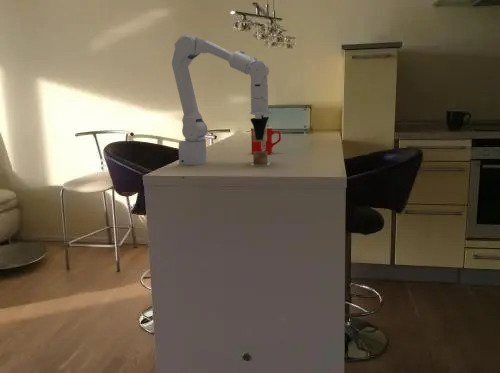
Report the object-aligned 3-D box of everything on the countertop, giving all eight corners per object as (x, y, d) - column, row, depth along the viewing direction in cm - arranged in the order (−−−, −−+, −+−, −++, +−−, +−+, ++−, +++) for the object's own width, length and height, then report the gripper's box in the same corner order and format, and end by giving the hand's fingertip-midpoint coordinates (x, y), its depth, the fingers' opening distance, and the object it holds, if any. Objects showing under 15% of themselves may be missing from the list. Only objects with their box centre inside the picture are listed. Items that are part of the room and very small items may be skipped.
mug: (250, 154, 198) (250, 128, 196) (253, 152, 206) (253, 127, 204) (279, 154, 196) (279, 128, 194) (281, 152, 204) (281, 126, 202)
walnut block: (253, 164, 165) (253, 153, 164) (254, 162, 169) (254, 151, 168) (266, 164, 164) (266, 153, 164) (267, 162, 169) (267, 151, 168)
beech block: (252, 141, 163) (252, 129, 162) (254, 140, 168) (253, 128, 167) (266, 141, 163) (266, 129, 162) (267, 140, 167) (266, 128, 166)
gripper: (270, 98, 155) (270, 141, 158) (272, 97, 169) (272, 136, 172) (248, 98, 156) (249, 141, 158) (252, 98, 170) (253, 137, 172)
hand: (260, 139), depth 165 cm, fingers closed on beech block, 4 cm apart
